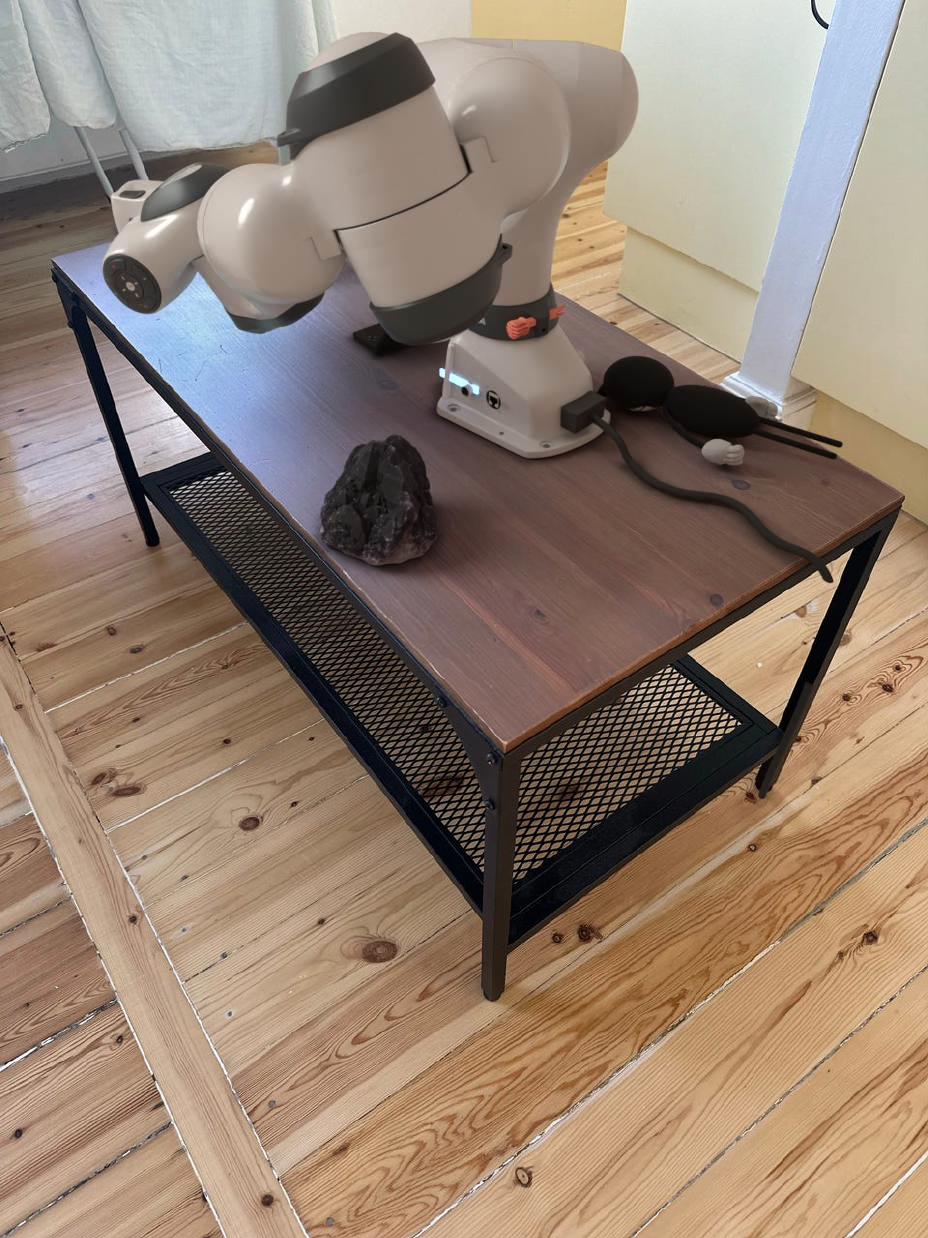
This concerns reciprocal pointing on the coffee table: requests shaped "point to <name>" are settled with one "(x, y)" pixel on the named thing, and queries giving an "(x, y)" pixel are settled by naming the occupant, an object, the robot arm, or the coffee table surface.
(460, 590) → the coffee table surface
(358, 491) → the crystal cluster
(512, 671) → the coffee table surface
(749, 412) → the toy
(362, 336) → the handheld gaming console
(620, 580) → the coffee table surface
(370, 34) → the robot arm
